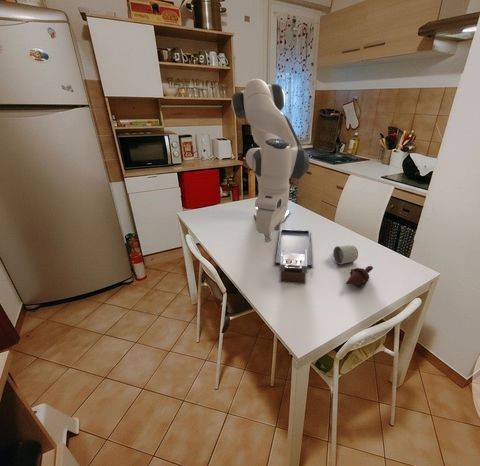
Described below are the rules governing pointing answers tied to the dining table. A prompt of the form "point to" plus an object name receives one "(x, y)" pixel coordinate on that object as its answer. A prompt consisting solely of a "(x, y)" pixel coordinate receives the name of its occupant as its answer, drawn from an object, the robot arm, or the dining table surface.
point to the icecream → (359, 276)
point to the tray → (294, 244)
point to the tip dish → (293, 262)
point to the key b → (298, 261)
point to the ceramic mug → (345, 254)
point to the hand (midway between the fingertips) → (272, 235)
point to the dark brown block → (292, 277)
